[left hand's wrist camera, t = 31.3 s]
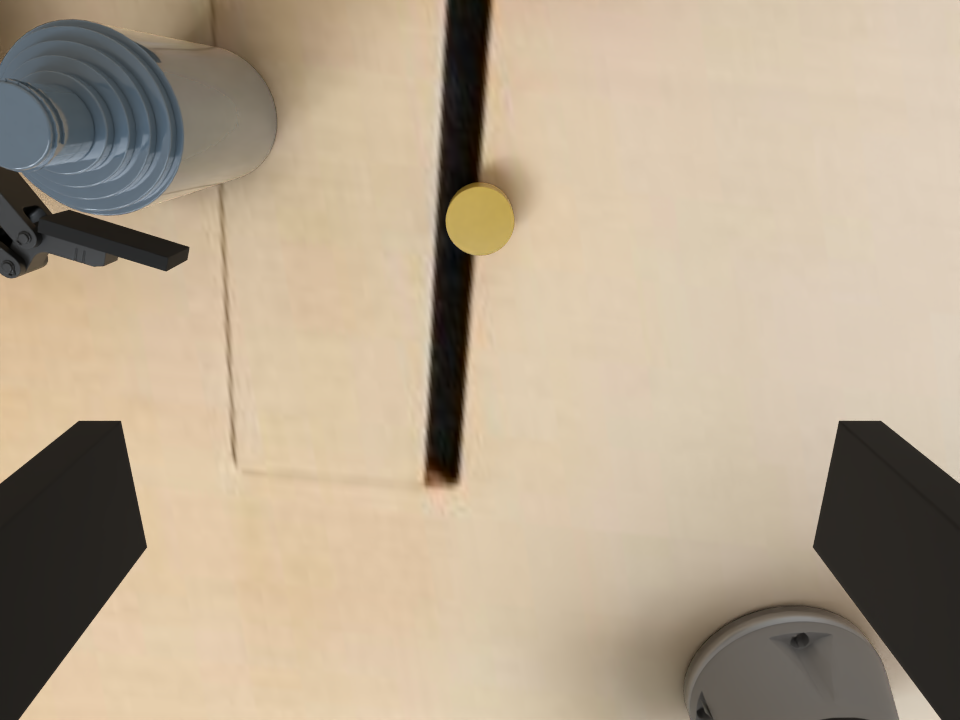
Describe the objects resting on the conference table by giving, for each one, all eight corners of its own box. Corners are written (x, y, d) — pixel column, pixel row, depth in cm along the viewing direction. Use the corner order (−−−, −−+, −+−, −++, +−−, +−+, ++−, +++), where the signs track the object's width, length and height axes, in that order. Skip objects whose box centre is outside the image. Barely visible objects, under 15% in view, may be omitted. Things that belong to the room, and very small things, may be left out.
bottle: (294, 163, 41) (157, 209, 23) (179, 193, 41) (-39, 261, 24) (250, 30, 38) (59, -29, 21) (128, 65, 39) (-157, 36, 22)
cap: (512, 181, 41) (514, 186, 39) (512, 247, 43) (514, 255, 40) (446, 182, 41) (444, 187, 39) (448, 248, 43) (446, 256, 40)
